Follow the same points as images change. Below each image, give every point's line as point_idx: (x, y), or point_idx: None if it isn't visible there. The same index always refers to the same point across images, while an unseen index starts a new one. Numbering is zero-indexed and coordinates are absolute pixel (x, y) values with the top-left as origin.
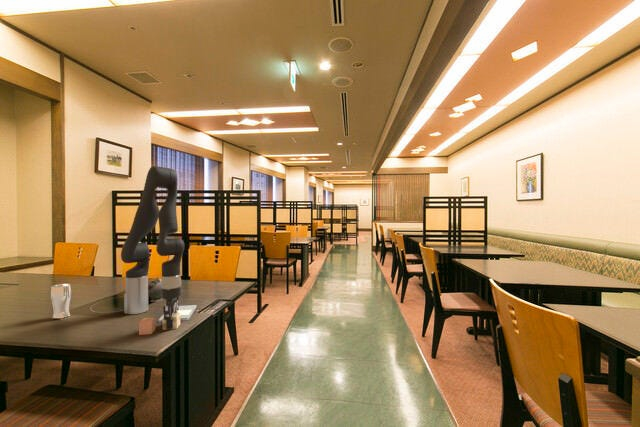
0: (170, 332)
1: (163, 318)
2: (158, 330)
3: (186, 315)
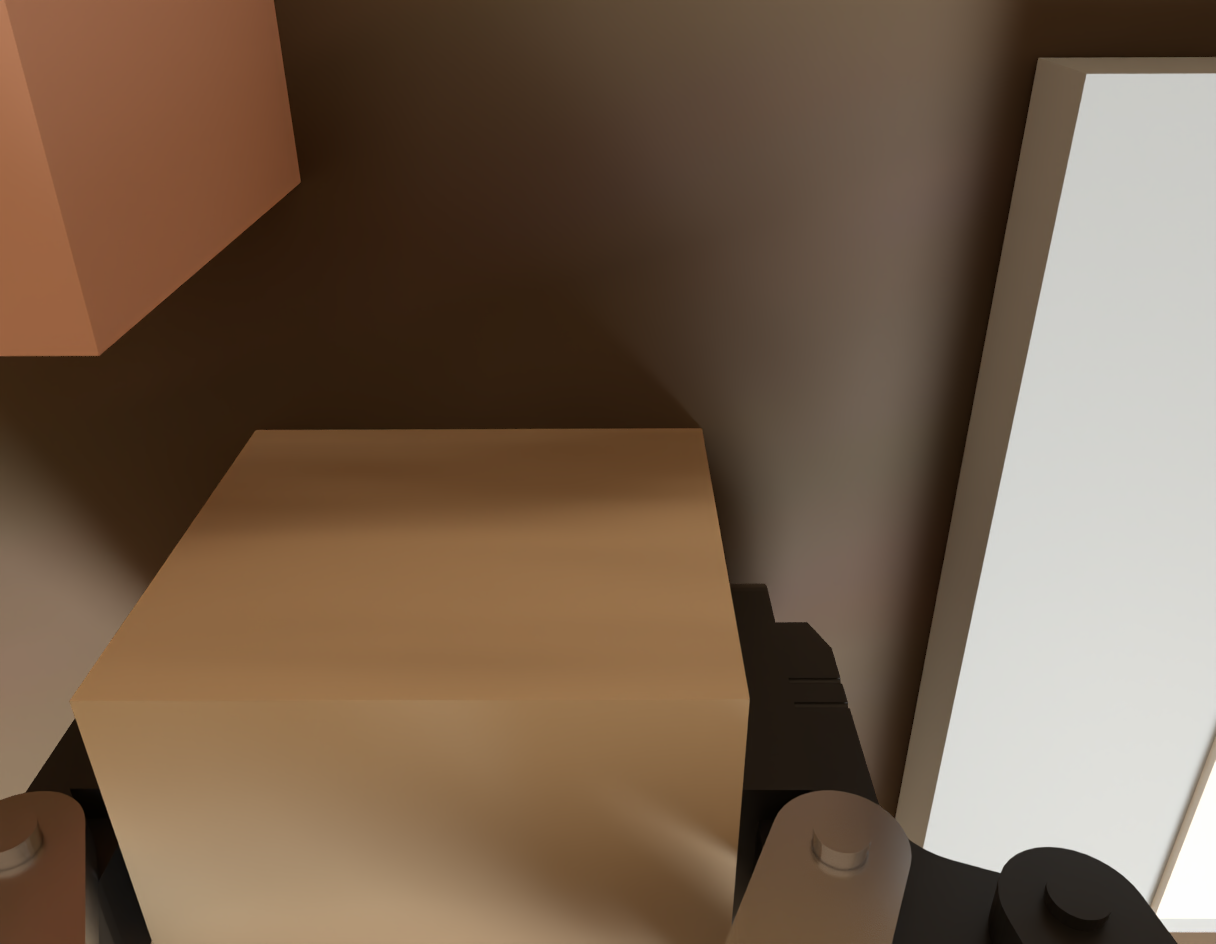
0: (55, 681)
1: (95, 718)
2: (203, 319)
3: (1135, 875)
